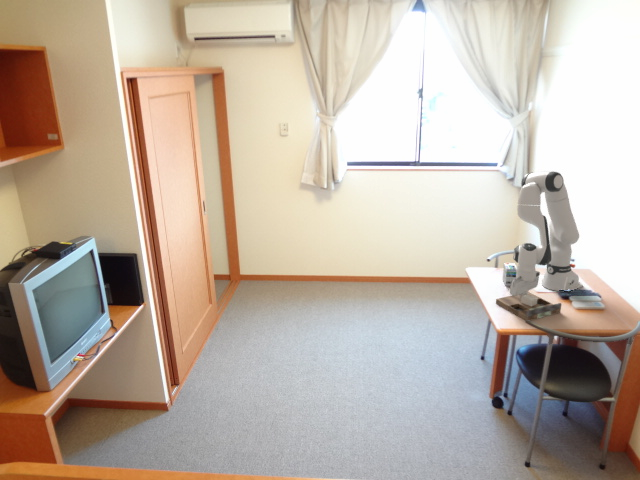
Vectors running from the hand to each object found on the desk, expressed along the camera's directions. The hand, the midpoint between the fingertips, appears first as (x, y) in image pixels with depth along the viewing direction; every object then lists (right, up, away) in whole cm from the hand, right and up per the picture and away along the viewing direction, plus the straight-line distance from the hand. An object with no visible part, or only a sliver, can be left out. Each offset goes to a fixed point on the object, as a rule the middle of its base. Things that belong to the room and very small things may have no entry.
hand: (522, 298), depth 250 cm
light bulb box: (+5, +6, +29) cm, 30 cm away
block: (+2, -2, -3) cm, 4 cm away
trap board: (+2, -5, -2) cm, 5 cm away
